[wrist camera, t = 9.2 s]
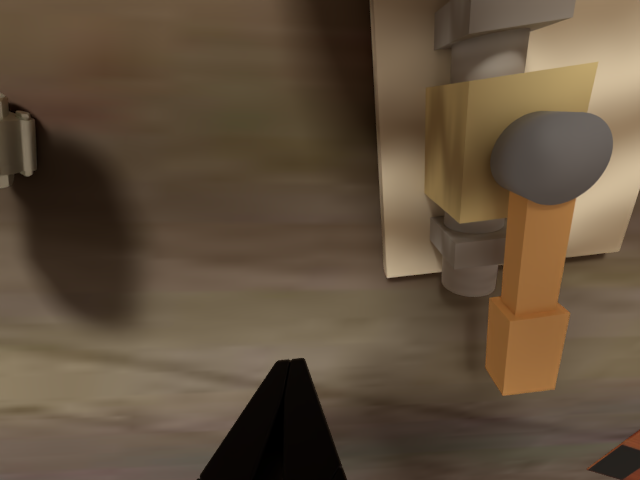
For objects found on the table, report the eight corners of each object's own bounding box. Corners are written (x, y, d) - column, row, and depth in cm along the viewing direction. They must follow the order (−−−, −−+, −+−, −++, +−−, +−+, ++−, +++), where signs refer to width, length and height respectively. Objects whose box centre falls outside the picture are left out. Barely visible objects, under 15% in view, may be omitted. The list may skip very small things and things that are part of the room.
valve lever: (578, 103, 11) (623, 103, 10) (537, 360, 17) (560, 388, 15) (492, 120, 11) (520, 123, 10) (480, 368, 17) (496, 396, 15)
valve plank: (367, -36, 15) (400, -133, 9) (705, -96, 14) (1002, -249, 8) (383, 269, 22) (407, 331, 16) (603, 243, 21) (716, 299, 15)
